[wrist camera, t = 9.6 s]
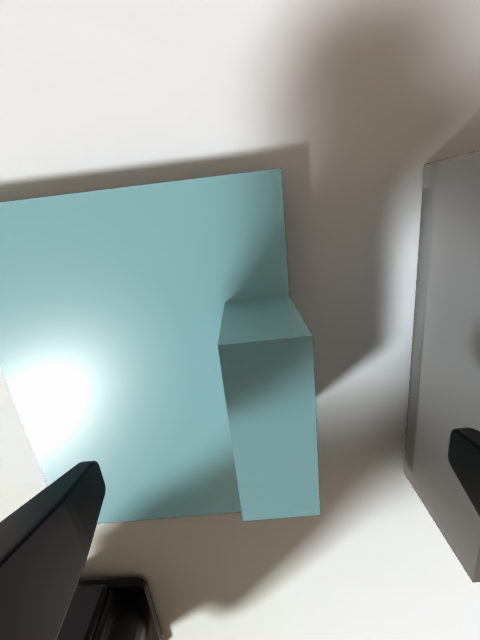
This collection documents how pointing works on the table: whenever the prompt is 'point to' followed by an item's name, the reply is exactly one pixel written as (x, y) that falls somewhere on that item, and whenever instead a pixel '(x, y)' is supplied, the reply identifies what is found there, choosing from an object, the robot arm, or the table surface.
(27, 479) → the table surface
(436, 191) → the tub
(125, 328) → the lid
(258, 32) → the table surface
